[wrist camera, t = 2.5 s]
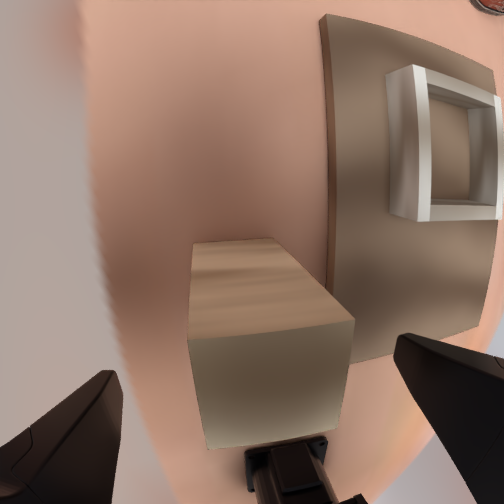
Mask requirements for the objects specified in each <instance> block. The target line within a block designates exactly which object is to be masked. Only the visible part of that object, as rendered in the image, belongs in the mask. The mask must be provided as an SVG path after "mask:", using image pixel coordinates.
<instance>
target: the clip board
mask: <svg viewBox="0 0 504 504" xmlns="http://www.w3.org/2000/svg"><path fill="white" fill-rule="evenodd" d="M319 23H320V32H321V42H322V52H323V64H324V76H325V91H326V108H327V130H328V168H329V219H328V258H327V281H326V290H327V291H328V292H329V293H330V294H331V295H332V296H333V297H334V298H335V299H336V300H337V301H338V302H339V303H340V304H341V305H342V306H343V307H344V308H345V309H346V310H347V311H348V312H349V313H350V314H351V315H352V316H353V317H354V318H355V326H354V334H353V341H352V349H351V355H350V362H349V364H353V363H358V362H362V361H366V360H370V359H374V358H378V357H382V356H386V355H390V354H393V353H394V350H395V345H396V340H397V337H398V336H399V335H400V334H404V333H413V334H416V335H420V336H423V337H427V338H430V339H434V340H440V339H443V338H446V337H449V336H452V335H455V334H458V333H461V332H464V331H466V330H469V329H472V328H474V327H477V326H478V325H479V322H480V318H481V314H482V310H483V306H484V302H485V298H486V293H487V289H488V284H489V279H490V274H491V268H492V263H493V257H494V250H495V243H496V235H497V226H498V220H499V219H502V212H503V197H504V132H503V118H502V107H501V99H500V97H498V96H497V95H496V88H495V81H494V75H493V70H491V69H489V68H487V67H485V66H483V65H481V64H479V63H477V62H475V61H473V60H471V59H469V58H467V57H465V56H462V55H460V54H458V53H456V52H453V51H451V50H449V49H446V48H444V47H441V46H439V45H436V44H434V43H431V42H429V41H426V40H423V39H420V38H418V37H415V36H412V35H409V34H406V33H403V32H400V31H396V30H393V29H390V28H386V27H383V26H379V25H375V24H371V23H368V22H364V21H359V20H355V19H351V18H346V17H341V16H336V15H331V14H325V15H324V16H323V17H322V18H321V19H320V21H319Z"/></svg>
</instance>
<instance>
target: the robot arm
mask: <svg viewBox="0 0 504 504" xmlns="http://www.w3.org/2000/svg"><path fill="white" fill-rule="evenodd" d="M393 358H394V362H395V364H396V366H397V368H398V370H399V372H400V374H401V376H402V378H403V380H404V381H405V383H406V385H407V387H408V389H409V391H410V393H411V395H412V396H413V398H414V400H415V401H416V403H417V404H418V406H419V407H420V409H421V410H422V412H423V414H424V415H425V417H426V418H427V420H428V421H429V423H430V425H431V426H432V428H433V429H434V431H435V433H436V434H437V436H438V437H439V439H440V441H441V442H442V444H443V445H444V447H445V449H446V450H447V452H448V454H449V455H450V457H451V459H452V460H453V462H454V464H455V465H456V467H457V469H458V470H459V472H460V474H461V476H462V477H463V479H464V481H465V482H466V484H467V486H468V488H469V490H470V492H471V493H472V495H473V497H474V499H475V501H476V502H477V504H504V359H503V358H499V357H495V356H494V357H493V356H491V355H488V354H484V353H480V352H477V351H473V350H469V349H466V348H462V347H458V346H455V345H451V344H448V343H444V342H441V341H437V340H434V339H430V338H427V337H423V336H420V335H416V334H413V333H404V334H400V335H399V336H398V337H397V340H396V345H395V350H394V355H393ZM122 408H123V392H122V389H121V386H120V383H119V380H118V376H117V374H116V372H115V371H114V370H102V371H100V372H99V373H98V374H96V375H95V376H94V377H92V378H91V379H90V380H89V381H87V382H86V383H85V384H83V385H82V386H81V387H80V388H78V389H77V390H76V391H74V392H73V393H72V394H71V395H69V396H68V397H67V398H66V399H64V400H63V401H62V402H60V403H59V404H58V405H56V406H55V407H54V408H52V409H51V410H50V411H49V412H47V413H46V414H45V415H44V416H42V417H41V418H40V419H38V420H37V421H36V422H34V423H33V424H32V425H31V426H30V427H28V428H27V429H25V430H24V431H23V432H21V433H20V434H19V435H17V436H16V437H15V438H13V439H12V440H11V441H10V442H8V443H6V444H5V445H3V446H1V447H0V504H111V503H112V495H113V487H114V480H115V473H116V466H117V460H118V453H119V447H120V440H121V425H122ZM327 445H328V441H327V438H326V437H319V438H314V439H310V440H305V441H300V442H295V443H290V444H285V445H279V446H273V447H267V448H261V449H254V450H248V451H246V452H245V453H244V458H245V469H246V479H247V488H248V491H249V492H255V493H256V497H257V501H258V504H368V503H367V502H366V500H365V499H364V497H363V496H362V494H361V493H360V494H358V495H355V496H353V498H350V499H348V500H345V501H342V502H340V503H339V501H338V499H337V497H336V495H335V492H334V490H333V488H332V486H331V483H330V481H329V479H328V477H327V474H326V472H325V470H324V468H323V463H324V458H325V454H326V450H327Z"/></svg>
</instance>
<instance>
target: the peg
mask: <svg viewBox="0 0 504 504" xmlns="http://www.w3.org/2000/svg"><path fill="white" fill-rule="evenodd" d="M354 326H355V318H354V317H353V316H352V315H351V314H350V313H349V312H348V311H347V310H346V309H345V308H344V307H343V306H342V305H341V304H340V303H339V302H338V301H337V300H336V299H335V298H334V297H333V296H332V295H331V294H330V293H329V292H328V291H327V290H326V289H325V288H324V287H323V286H322V285H321V284H320V283H319V282H318V281H317V280H316V279H315V278H314V277H313V276H312V275H311V274H310V273H309V272H308V271H307V270H306V269H305V268H304V267H302V266H301V265H300V264H299V263H298V262H297V261H296V260H295V259H294V258H293V257H292V256H291V255H290V254H289V253H288V252H287V251H286V250H285V249H284V248H283V247H282V246H281V245H280V244H279V243H278V242H277V241H276V240H275V239H274V238H262V239H248V240H234V241H220V242H206V243H193V252H192V265H191V279H190V295H189V312H188V334H187V341H188V348H189V354H190V360H191V366H192V372H193V378H194V384H195V389H196V395H197V400H198V405H199V410H200V415H201V420H202V425H203V430H204V435H205V439H206V444H207V448H208V449H220V448H231V447H240V446H248V445H255V444H262V443H269V442H275V441H281V440H286V439H291V438H297V437H302V436H306V435H311V434H315V433H320V432H324V431H328V430H332V429H336V428H337V426H338V422H339V417H340V412H341V407H342V402H343V397H344V391H345V386H346V380H347V374H348V368H349V362H350V355H351V349H352V341H353V334H354Z"/></svg>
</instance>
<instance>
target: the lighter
mask: <svg viewBox="0 0 504 504" xmlns="http://www.w3.org/2000/svg"><path fill="white" fill-rule="evenodd" d="M469 1H470V2H471V4H472V5H473V6H474V7H475V8H476V9H477V10H479V11H481V12H484V13H487V14H490V15H495V16H501V15H504V0H469Z"/></svg>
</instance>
